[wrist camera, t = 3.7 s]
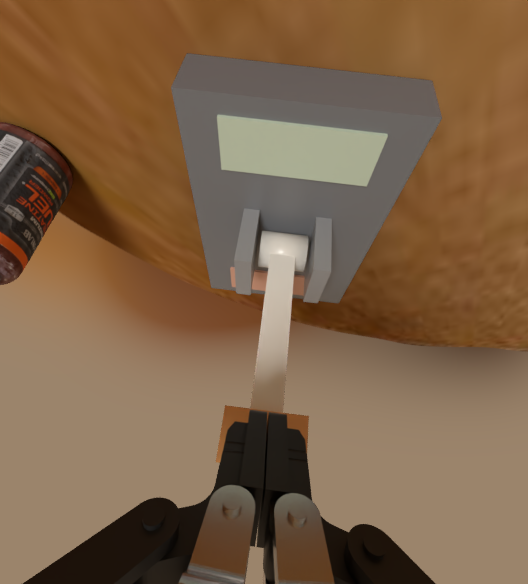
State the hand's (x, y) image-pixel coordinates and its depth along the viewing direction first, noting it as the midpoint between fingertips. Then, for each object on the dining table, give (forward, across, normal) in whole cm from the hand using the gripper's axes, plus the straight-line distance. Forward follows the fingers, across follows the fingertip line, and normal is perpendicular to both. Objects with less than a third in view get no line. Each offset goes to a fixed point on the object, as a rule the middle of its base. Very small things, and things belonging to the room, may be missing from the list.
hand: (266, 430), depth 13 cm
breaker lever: (+11, 0, +7) cm, 13 cm away
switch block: (+14, 0, +9) cm, 16 cm away
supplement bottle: (+13, -18, +10) cm, 25 cm away
